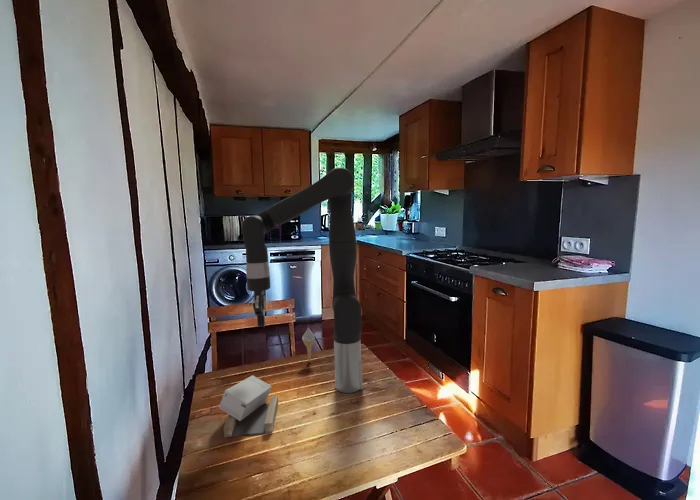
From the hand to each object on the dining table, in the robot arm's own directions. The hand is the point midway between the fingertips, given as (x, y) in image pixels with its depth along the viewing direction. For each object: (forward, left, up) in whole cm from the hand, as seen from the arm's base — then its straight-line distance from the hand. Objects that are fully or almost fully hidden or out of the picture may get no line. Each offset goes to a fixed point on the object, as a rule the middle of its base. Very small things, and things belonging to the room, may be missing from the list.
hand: (261, 325), depth 112 cm
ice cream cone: (-15, -20, -24) cm, 35 cm away
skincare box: (0, +6, -19) cm, 20 cm away
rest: (+1, +17, -23) cm, 29 cm away
